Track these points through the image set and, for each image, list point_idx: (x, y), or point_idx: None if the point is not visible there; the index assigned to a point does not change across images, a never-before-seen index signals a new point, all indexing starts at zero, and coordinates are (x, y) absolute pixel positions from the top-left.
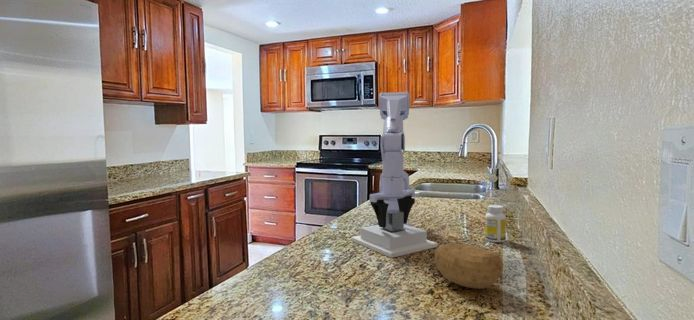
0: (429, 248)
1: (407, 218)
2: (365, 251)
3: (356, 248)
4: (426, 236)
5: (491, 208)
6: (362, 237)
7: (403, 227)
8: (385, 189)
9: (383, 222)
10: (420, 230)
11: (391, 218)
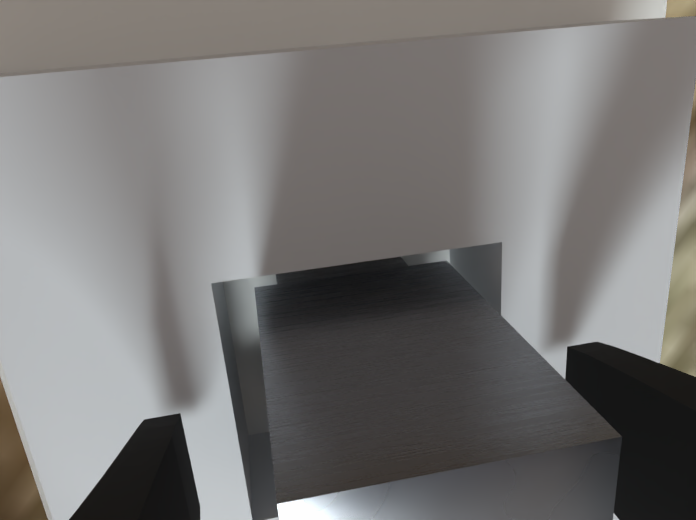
0: None
1: (122, 461)
2: (692, 212)
3: (692, 318)
4: None
5: None
6: None
7: (259, 325)
8: None
9: (670, 368)
10: (13, 164)
11: (563, 397)
